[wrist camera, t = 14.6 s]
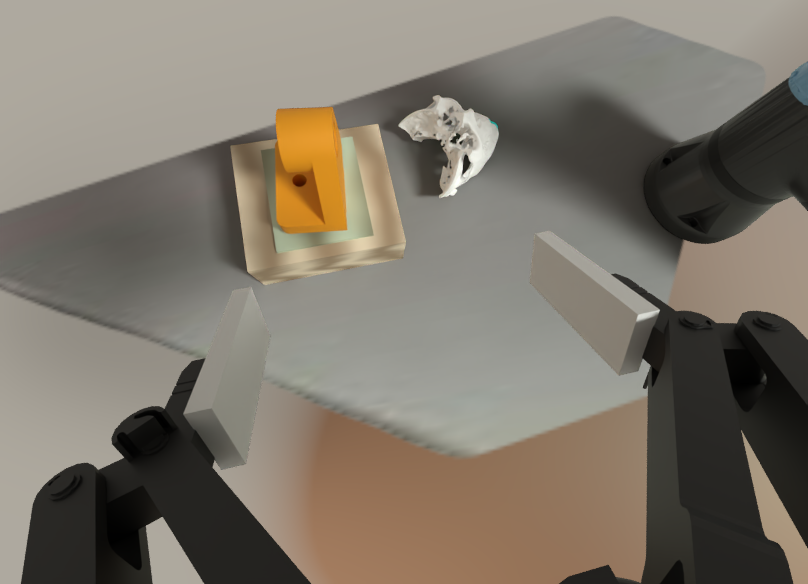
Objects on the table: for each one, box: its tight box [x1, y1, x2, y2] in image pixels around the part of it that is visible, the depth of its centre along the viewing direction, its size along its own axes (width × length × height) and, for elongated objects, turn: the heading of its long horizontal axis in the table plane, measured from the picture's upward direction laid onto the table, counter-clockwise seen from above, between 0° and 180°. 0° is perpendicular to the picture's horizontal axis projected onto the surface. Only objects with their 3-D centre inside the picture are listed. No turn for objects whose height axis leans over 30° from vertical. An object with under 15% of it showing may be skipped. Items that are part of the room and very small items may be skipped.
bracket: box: [275, 107, 347, 234], centre depth 36 cm, size 11×7×12 cm, turn 6°
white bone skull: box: [398, 95, 499, 198], centre depth 48 cm, size 12×9×10 cm
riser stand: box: [230, 124, 406, 285], centre depth 45 cm, size 18×16×6 cm
